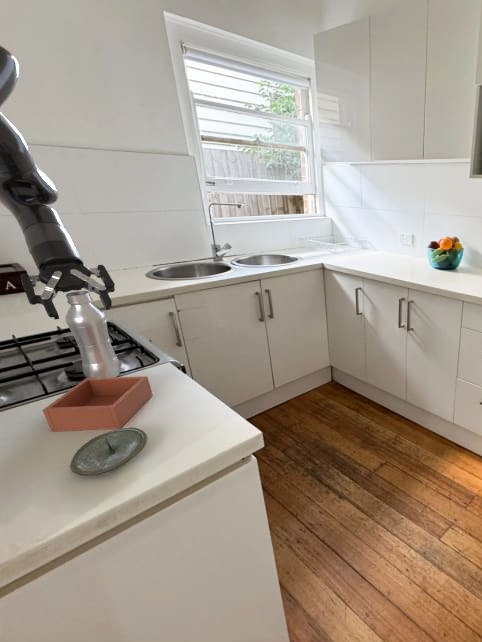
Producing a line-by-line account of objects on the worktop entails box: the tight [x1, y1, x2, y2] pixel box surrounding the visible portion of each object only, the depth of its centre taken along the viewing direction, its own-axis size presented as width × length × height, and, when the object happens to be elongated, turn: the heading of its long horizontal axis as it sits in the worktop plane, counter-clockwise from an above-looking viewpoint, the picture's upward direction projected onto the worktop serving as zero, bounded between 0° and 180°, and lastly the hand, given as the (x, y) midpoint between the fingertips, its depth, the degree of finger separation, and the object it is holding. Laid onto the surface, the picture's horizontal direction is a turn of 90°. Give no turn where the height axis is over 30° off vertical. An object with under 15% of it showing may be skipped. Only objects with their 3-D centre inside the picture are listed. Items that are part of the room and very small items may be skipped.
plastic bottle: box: [65, 290, 122, 379], centre depth 82 cm, size 6×7×20 cm
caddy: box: [42, 375, 154, 432], centre depth 74 cm, size 12×12×5 cm
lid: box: [69, 427, 148, 477], centre depth 62 cm, size 11×10×5 cm
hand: (83, 312), depth 80 cm, fingers open, 8 cm apart
